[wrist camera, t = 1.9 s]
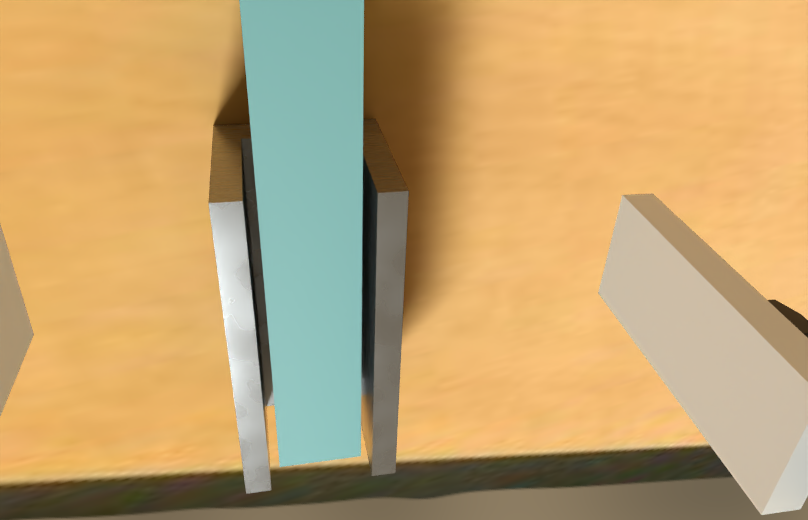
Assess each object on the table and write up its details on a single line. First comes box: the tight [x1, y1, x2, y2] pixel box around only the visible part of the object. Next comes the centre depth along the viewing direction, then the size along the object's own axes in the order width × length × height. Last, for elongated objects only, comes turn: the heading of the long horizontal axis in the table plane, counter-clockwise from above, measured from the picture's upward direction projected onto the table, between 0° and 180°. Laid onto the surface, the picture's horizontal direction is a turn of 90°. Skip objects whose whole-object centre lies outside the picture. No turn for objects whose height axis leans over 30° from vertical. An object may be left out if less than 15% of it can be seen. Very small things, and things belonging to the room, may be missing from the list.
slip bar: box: [239, 0, 364, 467], centre depth 29 cm, size 4×26×5 cm, turn 177°
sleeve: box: [209, 119, 409, 494], centre depth 33 cm, size 7×16×8 cm, turn 177°
